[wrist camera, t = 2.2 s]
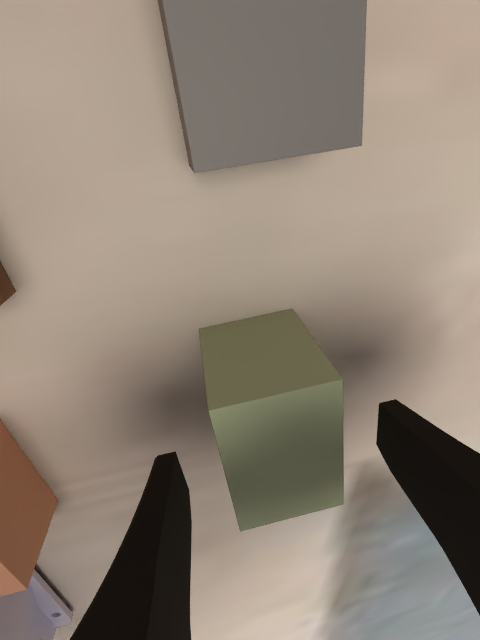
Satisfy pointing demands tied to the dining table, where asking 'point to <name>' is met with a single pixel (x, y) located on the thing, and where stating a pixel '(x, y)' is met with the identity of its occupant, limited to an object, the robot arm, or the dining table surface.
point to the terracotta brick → (20, 515)
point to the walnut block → (5, 286)
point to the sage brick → (274, 417)
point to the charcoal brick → (266, 77)
